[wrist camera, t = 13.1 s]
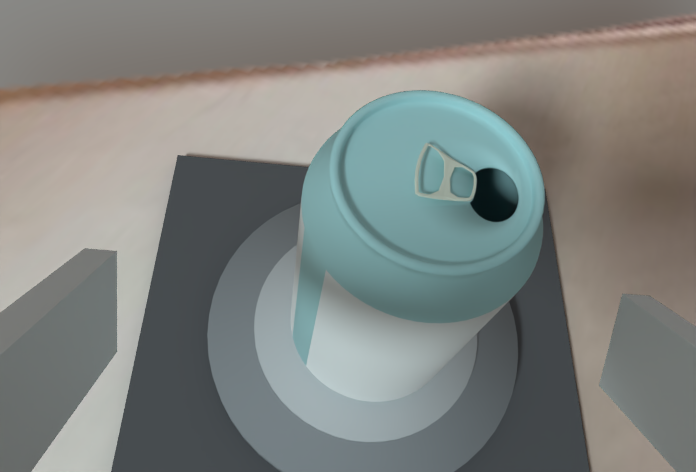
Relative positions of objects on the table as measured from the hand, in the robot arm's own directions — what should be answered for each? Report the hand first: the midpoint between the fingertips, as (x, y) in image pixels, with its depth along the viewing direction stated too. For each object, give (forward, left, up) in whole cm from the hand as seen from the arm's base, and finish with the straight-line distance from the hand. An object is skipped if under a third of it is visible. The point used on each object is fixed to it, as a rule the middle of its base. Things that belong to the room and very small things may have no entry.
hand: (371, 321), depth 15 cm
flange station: (-1, -4, -12) cm, 12 cm away
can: (-1, -4, -10) cm, 11 cm away
